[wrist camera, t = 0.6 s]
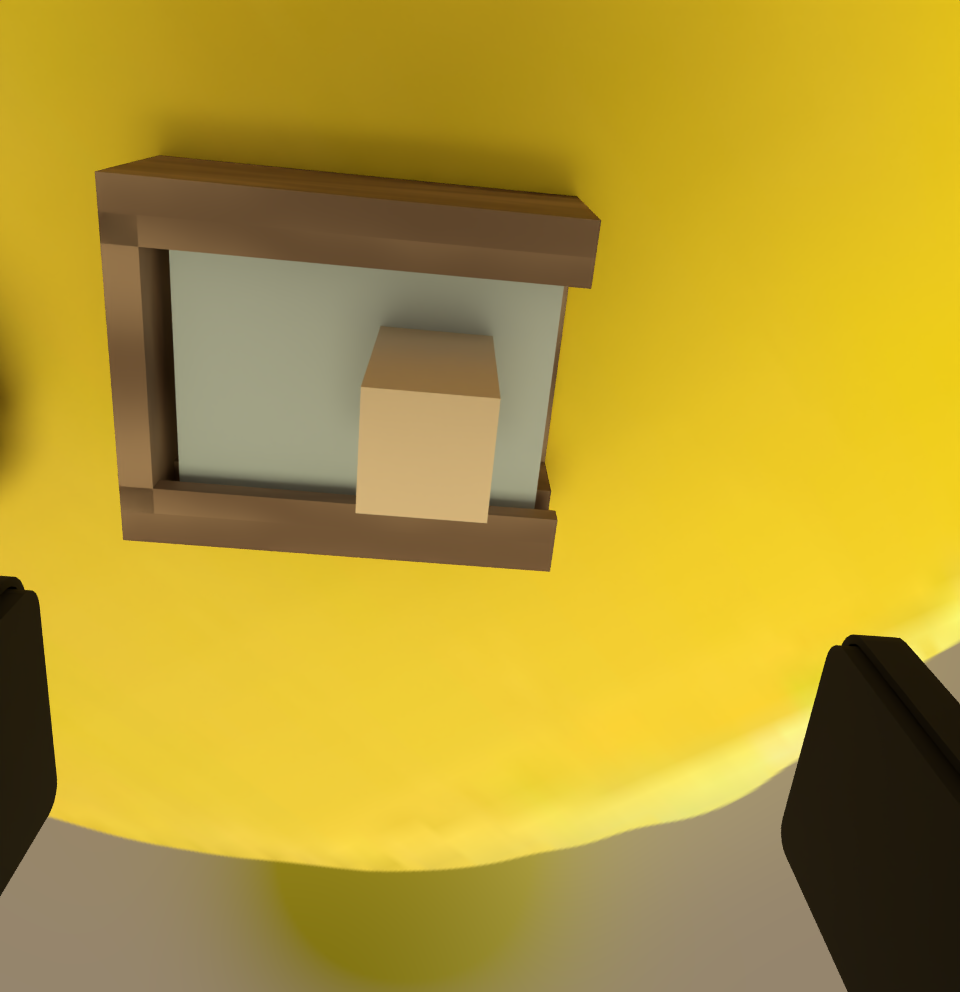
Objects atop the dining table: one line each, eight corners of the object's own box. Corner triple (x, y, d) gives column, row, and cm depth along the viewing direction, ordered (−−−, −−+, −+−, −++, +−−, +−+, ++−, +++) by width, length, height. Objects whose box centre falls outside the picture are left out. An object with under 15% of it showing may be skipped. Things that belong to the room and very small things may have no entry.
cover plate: (175, 217, 31) (90, 259, 24) (564, 254, 32) (594, 305, 25) (187, 476, 35) (116, 578, 28) (531, 503, 36) (549, 609, 29)
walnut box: (158, 155, 34) (94, 171, 28) (577, 196, 35) (600, 220, 29) (174, 470, 40) (123, 540, 34) (536, 498, 41) (549, 571, 35)
